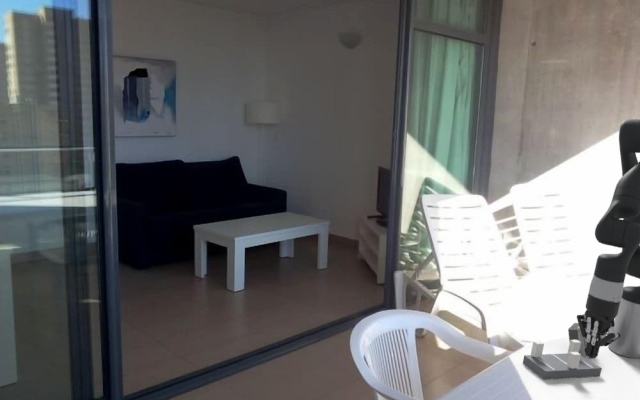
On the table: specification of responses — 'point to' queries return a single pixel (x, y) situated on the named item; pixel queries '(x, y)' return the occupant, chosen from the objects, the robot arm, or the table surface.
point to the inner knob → (574, 346)
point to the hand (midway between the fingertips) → (590, 357)
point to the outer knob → (537, 349)
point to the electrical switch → (578, 337)
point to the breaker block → (560, 367)
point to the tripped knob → (573, 359)
